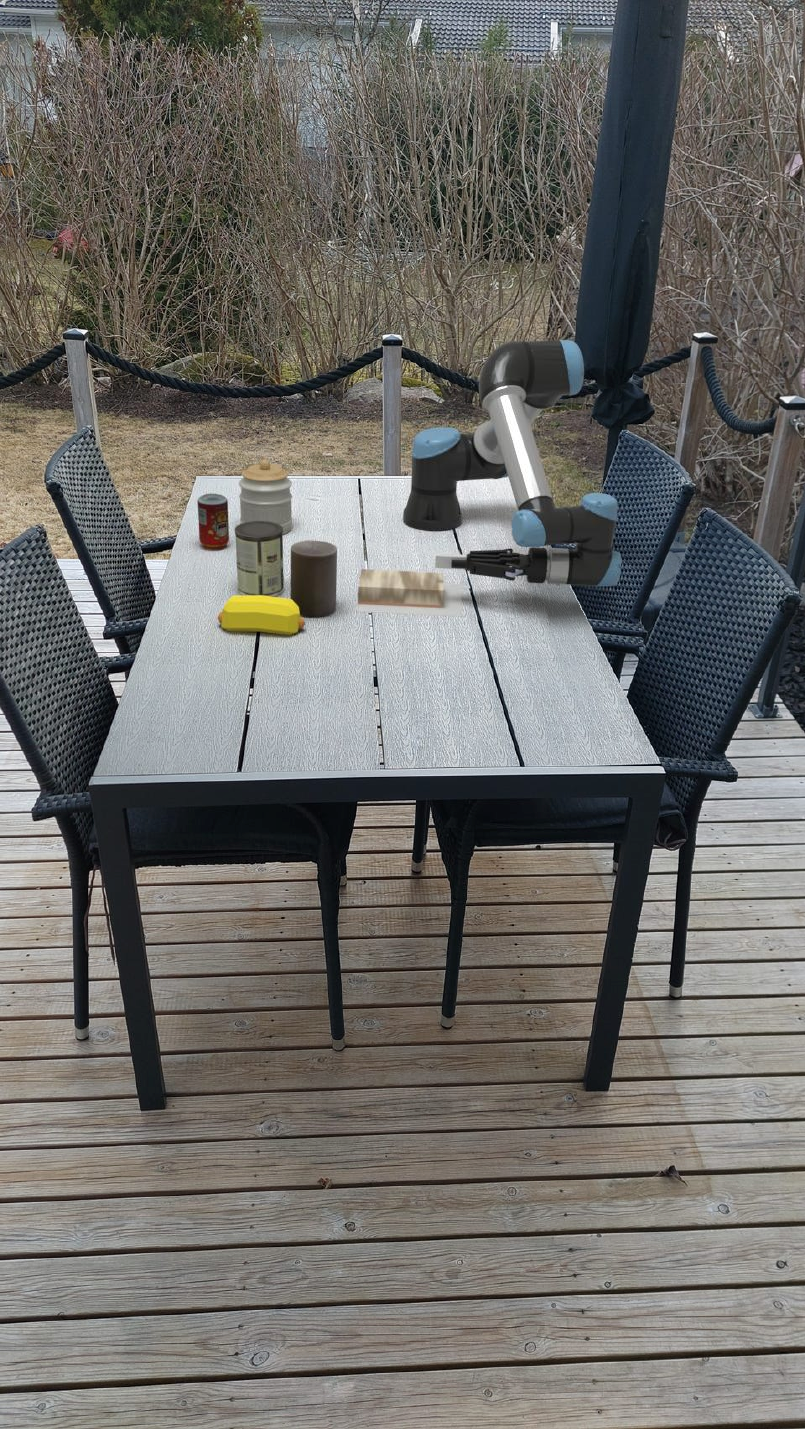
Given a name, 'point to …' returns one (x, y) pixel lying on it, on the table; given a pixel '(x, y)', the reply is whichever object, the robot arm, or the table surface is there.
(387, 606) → the rubber mat
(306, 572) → the pillar candle
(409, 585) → the birch board
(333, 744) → the table surface
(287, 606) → the hot dog
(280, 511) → the jar
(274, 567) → the coffee can
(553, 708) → the table surface
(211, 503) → the soda can
